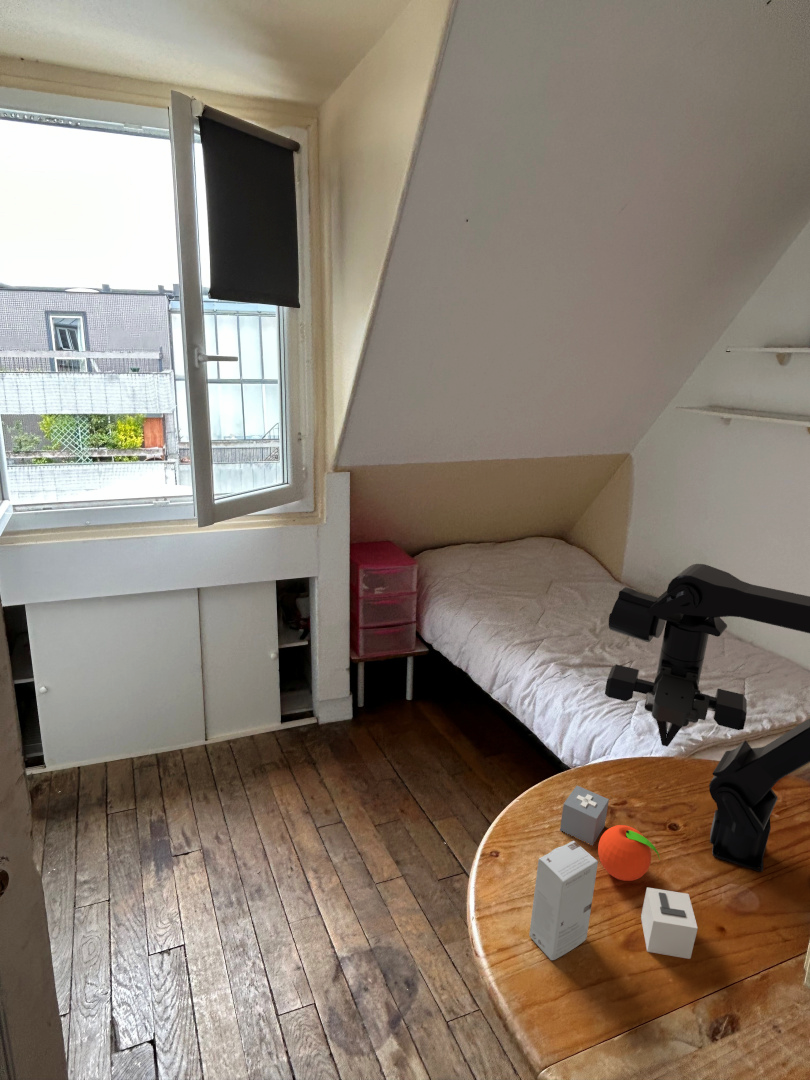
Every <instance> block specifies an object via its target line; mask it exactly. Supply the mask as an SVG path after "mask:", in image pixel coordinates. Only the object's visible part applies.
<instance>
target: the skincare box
mask: <svg viewBox="0 0 810 1080" xmlns="http://www.w3.org/2000/svg"><path fill="white" fill-rule="evenodd" d="M598 865H599V861H598V859H596V858H595V857H594V856H592V855H591V854H590V852H588V851H586V849H584V848H583V847H582V846H581V845H579V844H578V843H577V842H576V841H575V840H572V841H570V842H568V843H566V844H564V845H562V846H561V845H560V846H559V847H556V848H554V849H552V850H551V851H550V852H549V853H547V854H544V855H543V856H541V857H539V858H538V860H537V868H536V879H535V886H534V895H533V901H532V903H533V904H532V909H531V918H530V924H529V925H530V927H529V937H530V938H531V940H532V941H533V942H534V943H535V945H537V946H538V948H539V949H540V950H541V951H542V952H543V953H544V955H545V956H546V957H547V958H548V959H549V960H550V961H555V960H557V959H558V958H561V957H562V956H565V955H566V954H567V953H569V952H570V951H572V950H574V949H576V948H577V947H578V946H579V945H581V944H582V943H584V942H585V941H586V940H587V938H588V930H589V924H590V919H591V918H590V916H591V910H592V906H593V905H592V904H593V897H594V890H595V884H596V877H597V869H598Z"/></svg>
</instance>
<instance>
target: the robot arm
mask: <svg viewBox="0 0 810 1080" xmlns="http://www.w3.org/2000/svg"><path fill="white" fill-rule="evenodd" d="M608 617H609V618H608V629H609V630H610V631H612V632H615V633H619V634H621V635H624V636H627V637H630V638H634V639H636V640H640V641H642V642H645V643H650V642H651V641H652V640H653V638H655V639H659V638H660V636H661V635H662V634H663V638H662V643H661V647H660V654H659V659H658V665H657V670H656V676H655V677H654V681H649V680H646V679H641V678H639V673H640V669H637V668H633V667H629V666H624V665H621V664H615V665H613V666H612V667H610V671H609V674H608V677H607V679H606V684H605V690H604V695H605V696H606V697H608V698H611V699H615V700H620V701H623V702H628V701H630V700H631V699H633V697H634V692H635V693H640V694H643V695H645V699H646V700H645V703H644V710H646V711H647V712H649V713H651V716H652V718H653V719H654V720H655V722H656V725H657V728H658V733H659V738H660V743H661V746H662V747H667V748H668V747H669V745H670V744H671V743H672V741H673V740H674V739H675V738H676V735H677V734H678V733H679V731H680V730H681V729H682V728H684V727H687V726H689V724H690V723H692V724H697V723H698V722H699V720H702V721H705V720H706V719H707V718H706V717H707V715H708V711H711V712H714V714H713V720H714V721H715V723H717V725H718V726H720V727H725V728H728V729H732V730H736V731H743V730H744V727H745V724H746V719H747V698H746V697H745V695H744V694H743V693H738V692H734V691H730V690H725V689H721V688H717V689H716V693H715V696H711V695H709V694H706V693H703V691H701V690H700V686H699V685H700V680H701V677H702V675H701V674H702V670H703V665H704V661H705V655H706V650H707V646H708V641H709V636H710V635H711V636H714V637H720V636H721V635H722V634H723V633H724V632H725V631H726V630H727V628H728V624H727V623H726V622H725V621H724V619H722V618H725V617H726V618H727V617H735V618H740V619H741V618H742V619H747V620H750V621H756V622H760V623H764V624H767V625H772V626H777V627H782V628H784V629H788V630H792V631H793V630H794V631H797V632H802V633H806V634H810V596H809V595H806V594H799V593H796V592H795V593H794V592H790V591H785V590H780V589H775V588H771V587H767V586H761V585H758V584H756V585H755V584H751V583H749V582H746V581H743V580H740V579H739V578H737V577H736V576H734V575H733V574H731V573H729V572H727V571H725V570H721V569H719V568H717V567H714V566H711V565H709V564H708V565H707V564H705V563H695V564H694V563H693V564H691V565H689V566H688V567H686V568H685V569H683V570H682V571H681V572H679V573H678V574H677V575H676V576H675V577H674V578H672V579H671V581H670V582H669V583H668V586H667V590H665V591H664V592H663V593H661V595H660V596H658V597H657V596H653V595H650V594H646V593H643V592H639V591H637V590H635V589H633V588H629V587H627V586H625V587H624V588H622V589H620V591H618V596H617V599H616V601H615V603H614V604H613V607H612V610H611V612H610V613H609V616H608ZM669 723H670V724H669ZM668 724H669V726H668ZM809 763H810V717H809V718H807V719H806V720H804V721H803V722H802V723H800V724H798V725H797V726H795V727H793V728H792V729H790V730H789V731H787V732H786V733H783V735H781V736H779V737H777V738H775V739H774V740H772V741H771V742H769V743H767V744H766V745H764V746H762V747H752V746H750V743H748V741H747V740H743V741H742V742H741V743H740V744H739V745H738V746H737V747H736V748H734V749H731V750H726V751H724V754H723V755H722V757H721V758H720V760H719V762H718V763H717V765H716V767H715V768H714V770H713V772H712V776H713V777H712V778H711V780H710V782H709V784H708V786H709V790H708V791H709V795H710V797H711V799H712V800H713V801H714V803H715V804H716V808H717V809H716V810H715V811H714V815H713V819H712V824H711V827H710V834H709V836H710V837H709V842H710V844H712V856H713V857H714V858H716V859H720V860H723V861H725V862H728V863H732V864H735V865H738V866H740V867H744V868H747V869H750V870H753V871H757V872H760V873H762V872H763V870H764V855H765V851H766V847H767V843H768V840H769V836H770V832H771V815H772V812H773V811H774V808H775V805H776V803H777V801H778V796H777V794H776V793H775V791H774V790H773V789H772V788H773V787H774V786H775V785H776V784H777V783H778V782H779V781H780V780H781V779H784V777H786V776H788V775H790V774H791V773H793V772H795V771H797V770H799V769H800V768H802V767H803V766H806V765H808V764H809Z"/></svg>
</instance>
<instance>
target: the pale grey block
mask: <svg viewBox="0 0 810 1080" xmlns="http://www.w3.org/2000/svg"><path fill="white" fill-rule="evenodd" d="M640 918H641V925H642V926H641V927H642V929H643V930H642V931H643V935H644V942H645V948H646V952H648V953H654V954H660V955H666V956H671V957H676V958H682V959H686V960H687V959H689V960H690V959H691V958H692V954H693V949H694V946H695V945H694V944H695V941H696V937H697V933H698V924H697V921H696V917H695V913H694V909H693V905H692V901H691V899H690V894H689V893H685V892H679V891H672V890H666V889H660V888H653V887H646V890H645V895H644V900H643V905H642V909H641V915H640Z"/></svg>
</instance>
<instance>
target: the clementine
mask: <svg viewBox="0 0 810 1080" xmlns="http://www.w3.org/2000/svg"><path fill="white" fill-rule="evenodd" d="M598 841H599V842H598V848H597V854H598V858H599V860H600V861H599V862H600V863H601V865H602V867H603V868H604V870H606V872H607V873H608V874H609V875H610V876H612V877H613V878H615V879H617V880H619V881H623V882H633V881H635V880H638V879H641V878H642V877H643V876H644V875H646V873H647V872H648V870H649V868H650V866H651V863H652V851H651V849H652V850H653V851H654V852H655V853H656V854H657V857H658V859H659V860H661V858H660V854H659V851H658V850H657V848H656V846H655V845H654V844H652V842H651V841H650V840H649V839H648V838H646V837H645V836H644V835H643V834H642V832H641V831H639V830H638V829H636V828H634V827H632V826H629V825H626V824H625V825H624V824H617V825H614V826H612V827H610V828H608V829H606V830H605V831H604V832H603V833H602V835H601V836H600V838H599V840H598Z"/></svg>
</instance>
